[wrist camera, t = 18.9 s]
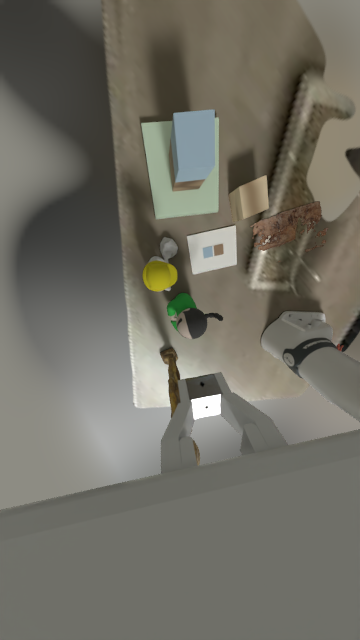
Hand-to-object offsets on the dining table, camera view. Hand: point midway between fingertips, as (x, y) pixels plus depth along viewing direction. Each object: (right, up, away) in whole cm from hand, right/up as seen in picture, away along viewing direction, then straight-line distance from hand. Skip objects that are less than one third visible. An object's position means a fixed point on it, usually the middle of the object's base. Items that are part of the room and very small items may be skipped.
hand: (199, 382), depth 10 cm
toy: (+1, +9, +33) cm, 34 cm away
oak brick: (+13, +31, +24) cm, 41 cm away
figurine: (-6, +19, +27) cm, 34 cm away
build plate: (-1, +34, +20) cm, 40 cm away
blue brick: (0, +31, +15) cm, 35 cm away
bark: (+27, +26, +29) cm, 47 cm away
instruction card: (+7, +22, +28) cm, 36 cm away
